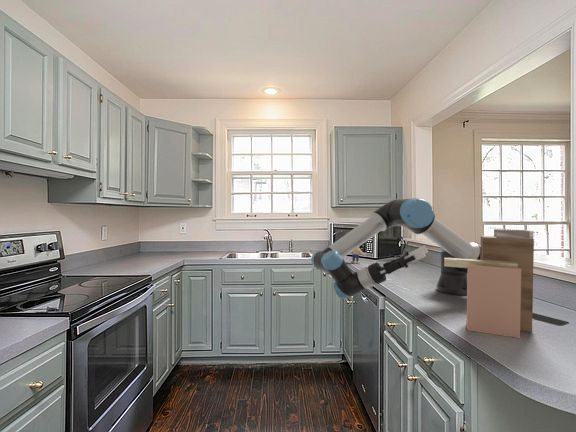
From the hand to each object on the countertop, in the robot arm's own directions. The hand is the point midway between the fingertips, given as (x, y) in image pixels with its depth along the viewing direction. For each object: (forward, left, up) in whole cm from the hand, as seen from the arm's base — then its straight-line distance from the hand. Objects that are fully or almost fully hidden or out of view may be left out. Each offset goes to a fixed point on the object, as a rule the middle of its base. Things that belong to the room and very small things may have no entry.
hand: (425, 250), depth 113 cm
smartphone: (-23, +38, -25) cm, 51 cm away
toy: (-117, -56, -25) cm, 132 cm away
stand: (-9, +25, -25) cm, 36 cm away
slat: (0, +16, -5) cm, 17 cm away
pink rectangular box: (0, +20, -25) cm, 32 cm away
